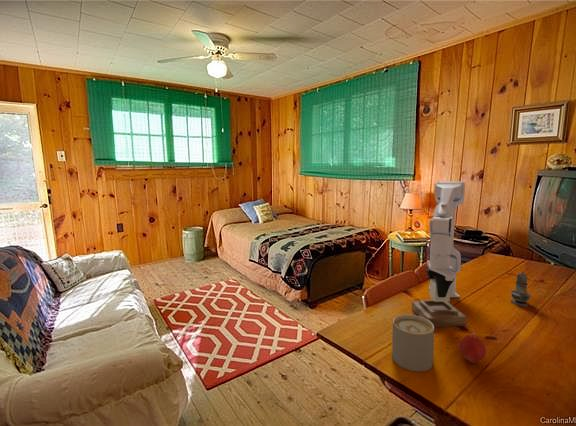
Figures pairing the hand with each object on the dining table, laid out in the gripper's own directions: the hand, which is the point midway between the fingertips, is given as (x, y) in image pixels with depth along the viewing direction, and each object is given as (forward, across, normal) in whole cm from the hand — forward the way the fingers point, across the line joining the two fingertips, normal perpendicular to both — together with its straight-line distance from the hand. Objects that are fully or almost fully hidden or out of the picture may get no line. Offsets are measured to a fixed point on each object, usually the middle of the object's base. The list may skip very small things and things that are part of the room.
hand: (438, 293), depth 98 cm
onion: (+8, -23, +2) cm, 25 cm away
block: (+2, 0, 0) cm, 2 cm away
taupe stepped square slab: (+8, 0, 0) cm, 8 cm away
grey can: (+9, -21, +15) cm, 27 cm away
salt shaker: (+8, +10, -33) cm, 36 cm away
